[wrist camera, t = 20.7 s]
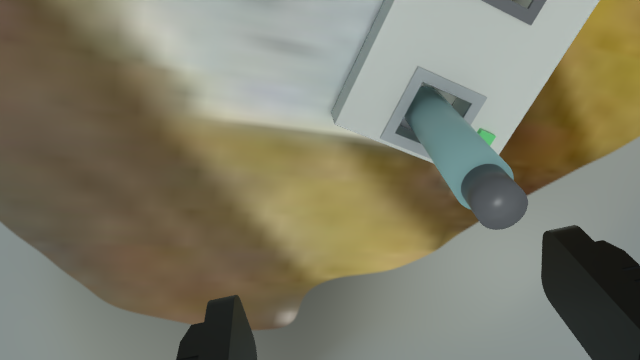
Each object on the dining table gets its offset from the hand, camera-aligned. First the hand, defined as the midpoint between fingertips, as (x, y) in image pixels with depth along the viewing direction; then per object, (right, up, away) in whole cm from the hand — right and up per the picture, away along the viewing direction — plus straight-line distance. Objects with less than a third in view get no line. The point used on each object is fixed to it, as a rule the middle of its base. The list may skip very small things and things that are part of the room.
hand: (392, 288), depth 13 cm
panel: (+11, +16, +32) cm, 37 cm away
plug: (+8, +10, +34) cm, 37 cm away
